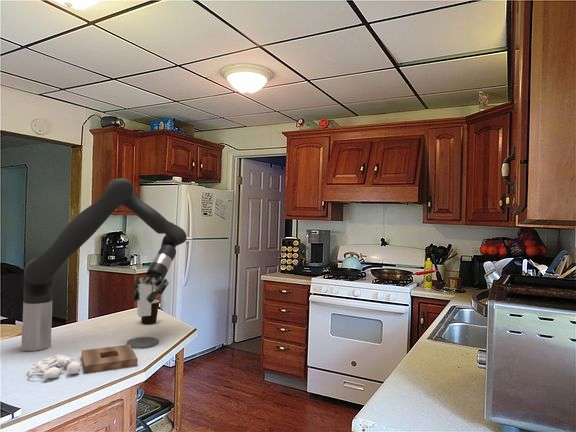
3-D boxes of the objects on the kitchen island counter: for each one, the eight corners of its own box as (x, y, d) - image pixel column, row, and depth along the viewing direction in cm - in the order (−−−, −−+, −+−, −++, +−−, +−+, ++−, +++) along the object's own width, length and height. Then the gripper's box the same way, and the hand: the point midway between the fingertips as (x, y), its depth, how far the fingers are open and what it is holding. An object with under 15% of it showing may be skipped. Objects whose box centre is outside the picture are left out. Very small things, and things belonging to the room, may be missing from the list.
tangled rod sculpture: (23, 369, 133) (22, 357, 133) (71, 357, 143) (71, 345, 142) (31, 388, 118) (31, 374, 118) (85, 373, 128) (84, 360, 128)
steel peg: (139, 316, 156) (140, 285, 156) (137, 314, 160) (138, 283, 160) (150, 315, 158) (151, 285, 158) (148, 312, 162) (149, 283, 162)
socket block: (84, 373, 128) (84, 365, 128) (81, 357, 142) (81, 350, 142) (137, 365, 136) (137, 358, 136) (129, 351, 150) (129, 344, 150)
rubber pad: (129, 350, 151) (129, 348, 151) (124, 341, 161) (124, 339, 161) (161, 346, 157) (161, 344, 157) (155, 337, 167) (155, 335, 167)
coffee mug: (154, 325, 184) (155, 303, 184) (136, 324, 185) (136, 303, 185) (163, 319, 196) (163, 298, 196) (145, 318, 196) (146, 297, 196)
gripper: (141, 260, 168) (121, 293, 157) (171, 262, 164) (154, 297, 153) (148, 271, 173) (130, 304, 162) (178, 273, 170) (161, 308, 158)
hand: (141, 300), depth 157 cm, fingers closed on steel peg, 6 cm apart
